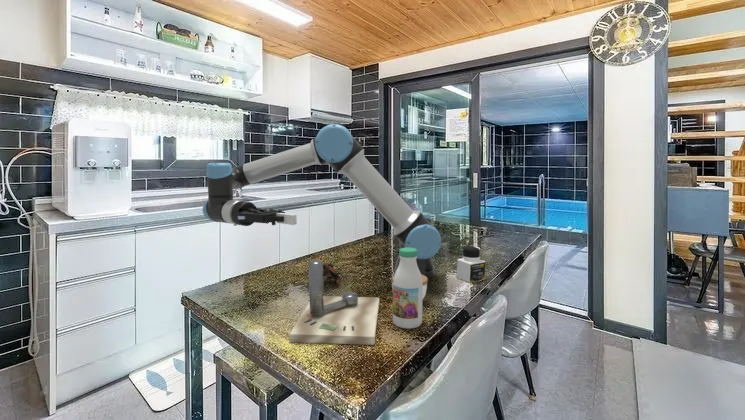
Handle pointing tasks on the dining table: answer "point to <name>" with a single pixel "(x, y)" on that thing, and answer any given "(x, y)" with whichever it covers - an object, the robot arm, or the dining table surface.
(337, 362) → the dining table surface
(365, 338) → the dial board
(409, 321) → the milk bottle
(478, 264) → the medicine bottle
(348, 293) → the lever
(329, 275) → the pottery mug
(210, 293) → the dining table surface
